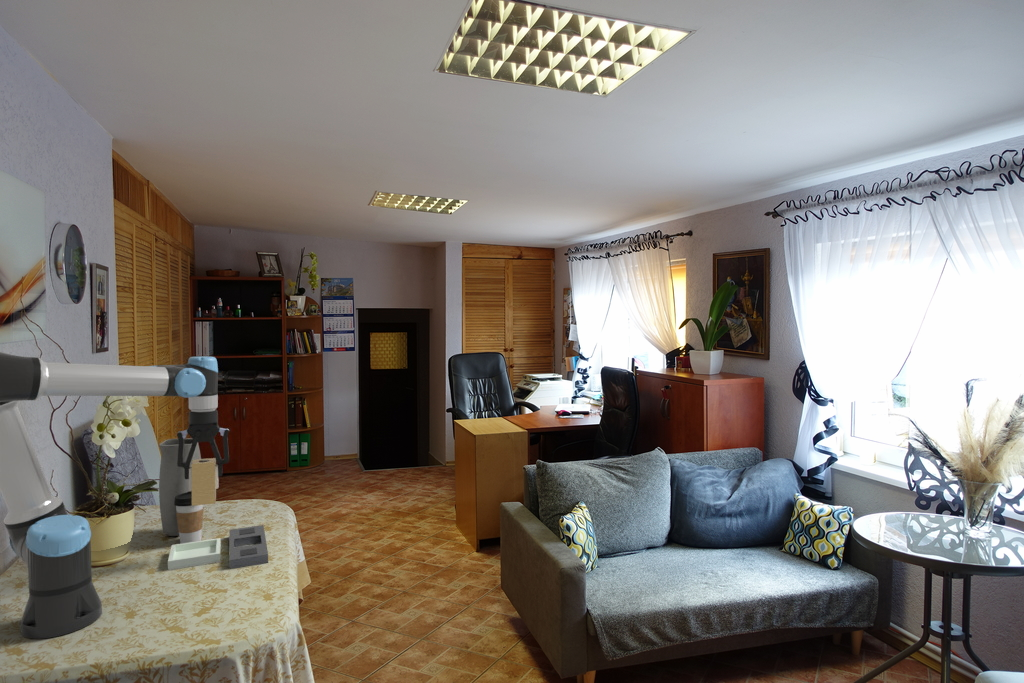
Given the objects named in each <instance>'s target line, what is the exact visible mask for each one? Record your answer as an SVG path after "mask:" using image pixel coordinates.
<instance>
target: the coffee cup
mask: <svg viewBox="0 0 1024 683" xmlns="http://www.w3.org/2000/svg"><path fill="white" fill-rule="evenodd" d="M174 505H175V506H176V516H177V523H178V530H179V536H178V537H179V544H182V543H189V542H196V541H202V535H203V533H202V532H203V522H204V511H205V510H204V509H205V508H204V505H196V506H192V491H190V492H186V493H182V494H179V495H177V496H176V497H175V501H174Z"/></svg>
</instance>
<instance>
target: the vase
mask: <svg viewBox="0 0 1024 683" xmlns="http://www.w3.org/2000/svg"><path fill="white" fill-rule="evenodd" d="M192 443H193V439H192V437H190V438H187V437H186V438H184V452H183V462H186V460H187V457H188V454H189V451H190V449H191V446H192ZM158 446H159V450H160V453H161V456H160V466H159V476H158V477H159V480H158V484H159V485H158V492H159V493H158V494H159V496H158V499H159V510H160V520H161V527H162V531H163V533H164V534H165V535H166V536H169V537H177V536H178V537H179V530H178V523H177V516H176V506H175V505H174V501H175V497H176V496H177V495H179V494H182V493H186V492H190V491H189V479H185V470H184V468H183V467H178V466H177V460H178V446H179V440H178V438H169V439H166V440H164V441H163V442H161V443H159V444H158ZM201 455H202V454H201V450H200V445H199V442H197V445H196V448H195V451H194V454H193V457H192V460H191V463H190V467H191V464H192V461H193V460H195V459H202V457H201Z"/></svg>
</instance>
